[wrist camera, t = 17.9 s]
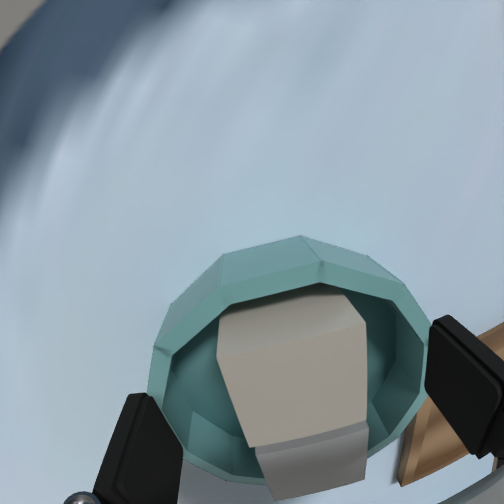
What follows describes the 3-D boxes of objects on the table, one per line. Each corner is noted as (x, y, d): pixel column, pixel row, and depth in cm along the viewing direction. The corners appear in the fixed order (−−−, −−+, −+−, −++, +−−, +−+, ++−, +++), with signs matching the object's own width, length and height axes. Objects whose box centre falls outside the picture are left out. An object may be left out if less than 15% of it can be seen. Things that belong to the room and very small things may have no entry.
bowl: (399, 406, 16) (421, 443, 13) (208, 453, 17) (206, 496, 13) (395, 212, 13) (438, 228, 10) (125, 278, 13) (95, 312, 10)
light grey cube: (341, 419, 15) (364, 479, 11) (266, 436, 15) (274, 500, 11) (338, 362, 14) (369, 427, 10) (250, 382, 14) (255, 455, 10)
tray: (534, 396, 19) (540, 402, 18) (396, 477, 19) (400, 487, 18) (568, 279, 15) (577, 284, 14) (412, 366, 15) (422, 377, 14)
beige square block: (334, 354, 14) (366, 419, 10) (245, 375, 14) (249, 447, 10) (324, 270, 13) (365, 322, 8) (222, 293, 13) (216, 357, 8)
